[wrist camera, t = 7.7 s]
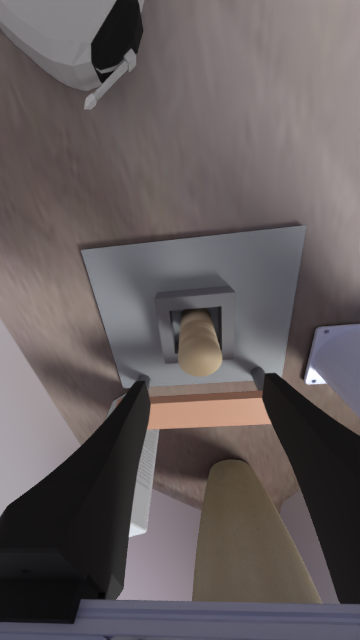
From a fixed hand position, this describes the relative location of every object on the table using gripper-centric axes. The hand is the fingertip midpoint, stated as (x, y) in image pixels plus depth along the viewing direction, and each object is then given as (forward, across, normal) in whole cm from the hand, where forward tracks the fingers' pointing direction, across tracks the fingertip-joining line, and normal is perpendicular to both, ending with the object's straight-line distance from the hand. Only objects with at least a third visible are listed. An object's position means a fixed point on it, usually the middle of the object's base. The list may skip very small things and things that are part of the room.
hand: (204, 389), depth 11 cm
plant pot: (+10, -4, +30) cm, 32 cm away
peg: (+10, 0, 0) cm, 10 cm away
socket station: (+10, 0, 0) cm, 10 cm away
